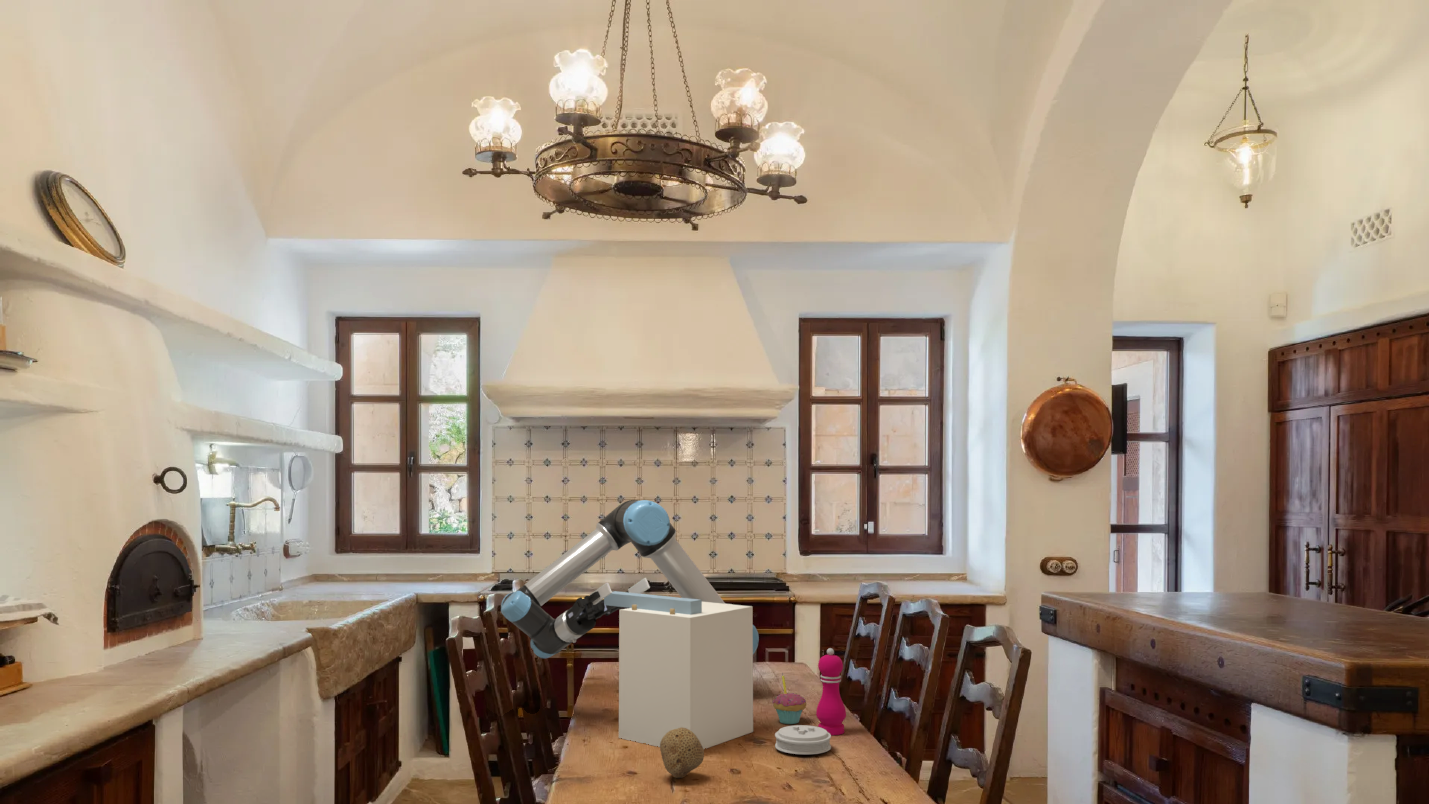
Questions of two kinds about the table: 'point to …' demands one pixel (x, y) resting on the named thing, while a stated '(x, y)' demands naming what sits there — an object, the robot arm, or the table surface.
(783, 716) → the cupcake
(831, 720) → the pepper mill
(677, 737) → the natural sponge
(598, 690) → the table surface
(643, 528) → the robot arm
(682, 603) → the batten
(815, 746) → the lid
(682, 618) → the plinth
